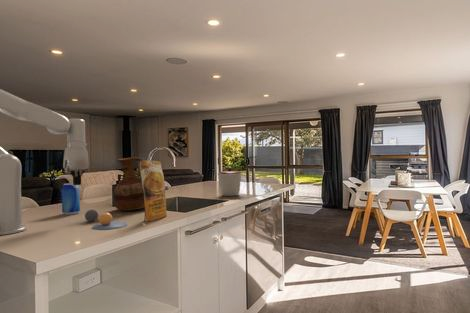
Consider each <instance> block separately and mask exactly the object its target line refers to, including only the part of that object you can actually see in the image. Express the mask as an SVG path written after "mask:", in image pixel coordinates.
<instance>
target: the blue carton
mask: <svg viewBox="0 0 470 313" xmlns="http://www.w3.org/2000/svg"><path fill="white" fill-rule="evenodd" d="M80 188H81V187H80V185H74V184H73V182H72V183H71V182H70V183H69V182H68V183H63V185H62V187H61V213H62V214H63V215H65V216H71V215H78V214H79V212H81V191H80V190H81V189H80Z"/></svg>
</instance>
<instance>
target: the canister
mask: <svg viewBox="0 0 470 313" xmlns="http://www.w3.org/2000/svg"><path fill="white" fill-rule="evenodd" d="M242 174H243V173H242V172H240V171H238V170H233V168H232V167H231V166H229V167H227V170H225V171H220V172H218V173H217V175H218V182H219V189H220V190H219V191H220V194H221V195H222V196H223V197H236V196H238V195H239V194H240V190H241V189H240V188H241V182H242V181H241V180H242Z"/></svg>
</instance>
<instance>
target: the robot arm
mask: <svg viewBox="0 0 470 313" xmlns="http://www.w3.org/2000/svg"><path fill="white" fill-rule="evenodd" d="M0 113H2V114H4V115H6V116H9V117H12V118H13V119H16V120H18V121H23V122H30V123H33V124H37V125H40V126H43V127H45V128H46V129H47V131H48V133H49V134H53V135H66V144H67V147H66V148H65V149H64V153H63V163H62V164H63V165H62V167H63V169H64V170H65V171H64V172H65V173H67V174H70V175H71V176H72V183H73V184H74V185H78V186H81V184H82V177H83V175H84V173H86V172H88V171H89V166H90V163H89V160H90V159H89V152H88V149H87V148H86V147H88V143H87V142H86V122H85V120H84V119H81V118H69V119H68V117H66V116H64V115H62V114H60V113H58V112H56V111H53V110H52V109H50V108H47V107H44V106H41V105H38V104H35V103H33V102H30V101H27V100H26V99H23V98H20V97H19V96H17V95H14V94H12V93H10V92H8V91H5V90H3V89H1V88H0ZM22 222H23V220H22V163H21V160H20V159H19V158H18V157H17V156H15V155H13V154H11V153H9V152H7V151H6V150H5V149H4V148H3V147H1V146H0V236H2V235H4V236H5V235H12V234H16V233H20V232H24V231H26V230H27V226H26V225H23V224H22Z"/></svg>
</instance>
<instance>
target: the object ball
mask: <svg viewBox="0 0 470 313" xmlns="http://www.w3.org/2000/svg"><path fill="white" fill-rule="evenodd" d="M98 222H99V224H102V225H109V224H110V223H111V222H113V215H112V214H111V213H110V212H103V213H101V214H100V215H99V216H98Z"/></svg>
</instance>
